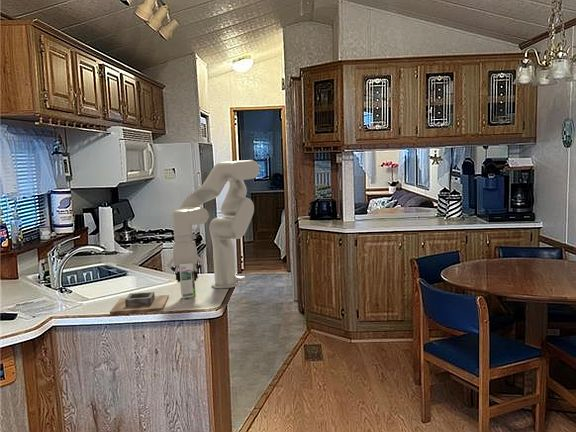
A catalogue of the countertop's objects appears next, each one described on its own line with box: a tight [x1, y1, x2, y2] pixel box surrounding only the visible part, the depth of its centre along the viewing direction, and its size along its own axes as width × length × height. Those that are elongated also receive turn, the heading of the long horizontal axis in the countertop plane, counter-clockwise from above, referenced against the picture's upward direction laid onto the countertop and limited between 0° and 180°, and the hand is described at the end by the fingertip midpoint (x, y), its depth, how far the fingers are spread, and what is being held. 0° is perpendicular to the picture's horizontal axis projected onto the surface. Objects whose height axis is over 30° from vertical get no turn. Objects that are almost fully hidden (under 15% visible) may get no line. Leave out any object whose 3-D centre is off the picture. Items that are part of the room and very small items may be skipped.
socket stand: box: [109, 291, 170, 316], centre depth 212 cm, size 20×20×4 cm
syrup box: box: [178, 263, 197, 299], centre depth 221 cm, size 6×6×14 cm
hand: (187, 280), depth 221 cm, fingers closed on syrup box, 6 cm apart
